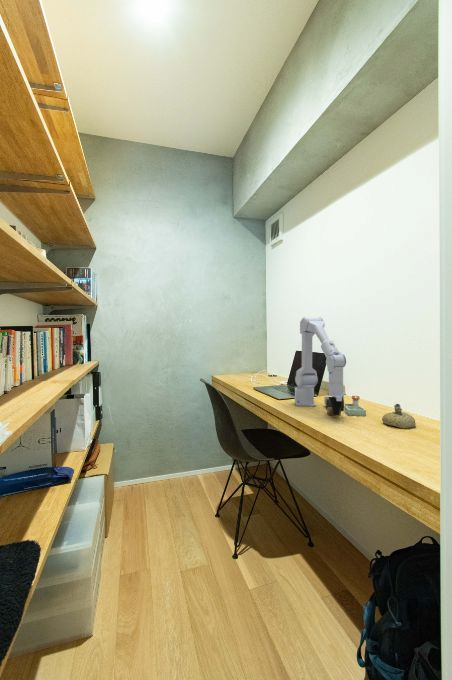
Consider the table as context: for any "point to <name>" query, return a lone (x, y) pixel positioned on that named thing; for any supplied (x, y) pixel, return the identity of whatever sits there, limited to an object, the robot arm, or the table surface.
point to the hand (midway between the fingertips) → (336, 414)
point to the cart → (328, 403)
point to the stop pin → (355, 402)
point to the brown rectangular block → (330, 412)
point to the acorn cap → (399, 418)
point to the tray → (355, 411)
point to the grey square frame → (349, 404)
